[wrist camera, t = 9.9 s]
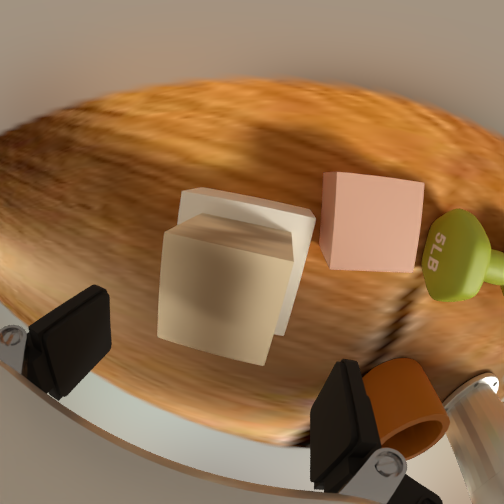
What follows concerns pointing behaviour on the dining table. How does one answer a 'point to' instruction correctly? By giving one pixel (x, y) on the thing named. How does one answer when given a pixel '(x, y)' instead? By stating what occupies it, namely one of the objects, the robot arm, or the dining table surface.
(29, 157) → the dining table surface
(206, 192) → the base block
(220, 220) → the maple cube
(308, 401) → the dining table surface
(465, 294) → the dumbbell
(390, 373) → the mug
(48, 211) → the dining table surface
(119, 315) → the dining table surface
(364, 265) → the pink cube
